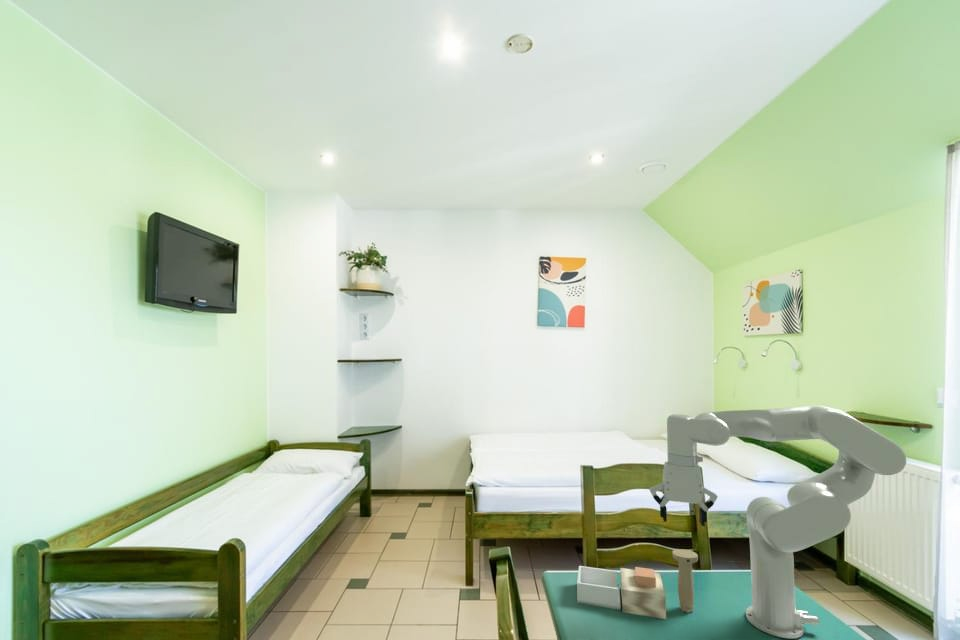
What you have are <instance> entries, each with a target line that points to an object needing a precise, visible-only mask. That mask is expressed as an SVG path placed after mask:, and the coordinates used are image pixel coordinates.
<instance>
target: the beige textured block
mask: <svg viewBox="0 0 960 640" xmlns="http://www.w3.org/2000/svg"><path fill="white" fill-rule="evenodd" d="M619 571H620V573H619V574H620V600H621V608H622V609H621V610H622V613H625V614H626V613H627V614H631V615H638V616H645V617H650V618H656V619H657V618H658V619H661V620H662V619H663V620H666V619H667V603H666V598H667V597H666V593H665V588H664V585H663V580H662V577H661V573H659V572H654V573H655V577H656V588H655V587H648V586H642V585H637V584H636V577H635V569H631V568H623V567H620V570H619Z"/></svg>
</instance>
